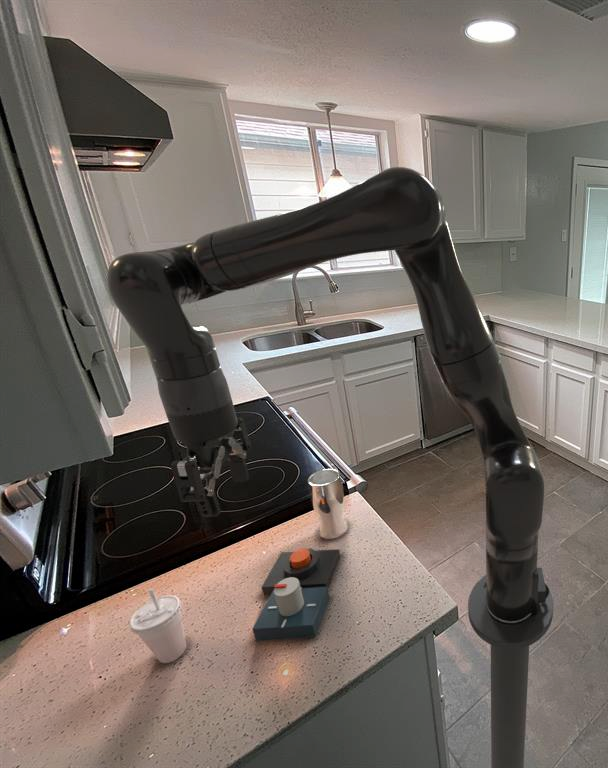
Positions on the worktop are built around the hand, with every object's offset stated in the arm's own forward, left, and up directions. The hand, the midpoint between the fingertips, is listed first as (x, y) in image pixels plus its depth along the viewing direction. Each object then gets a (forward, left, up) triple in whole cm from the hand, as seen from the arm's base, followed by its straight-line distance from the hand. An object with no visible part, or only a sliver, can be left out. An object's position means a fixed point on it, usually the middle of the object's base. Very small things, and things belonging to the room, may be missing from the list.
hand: (228, 496), depth 63 cm
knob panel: (-4, -2, -29) cm, 29 cm away
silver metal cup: (-4, -25, -29) cm, 38 cm away
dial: (-4, -1, -26) cm, 26 cm away
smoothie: (+14, +3, -29) cm, 32 cm away
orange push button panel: (-2, -12, -29) cm, 31 cm away
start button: (-2, -12, -25) cm, 28 cm away
